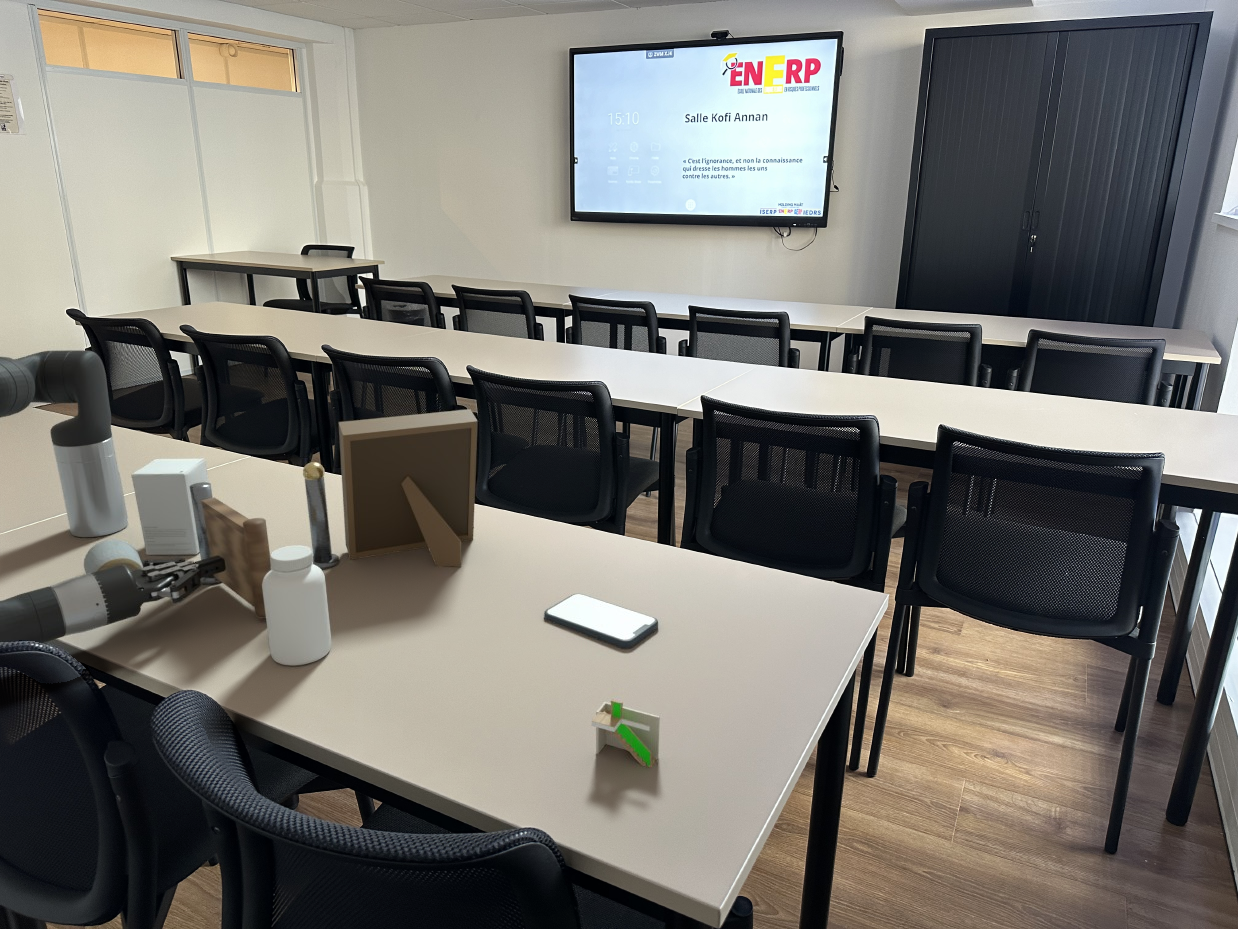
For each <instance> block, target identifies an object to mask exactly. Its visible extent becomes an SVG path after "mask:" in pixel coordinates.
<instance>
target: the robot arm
mask: <svg viewBox="0 0 1238 929" xmlns="http://www.w3.org/2000/svg"><path fill="white" fill-rule="evenodd" d="M107 381H108V380H107V374H106V370H105V366H104V363H103V360H102V359H101V357H100V356H99V355H98V354H97V353H96V352H94V351H92V350H82V349H81V350H80V349H79V350H72V349H70V350H68V349H67V350H43V351H40V352H36V353H32V354H29V355H26V356H22V357H18V358H11V357H7V356H6V357H5V356H0V418H5V417H9V416H13V415H15V414H18V413H19V414H20V413H21V412H22V411H24V410H25V409H27V408H28V407H29V406H30V405H31V403H39V404H41V403H42V404H77V414H76V415H75V416H73V417H72V418H69V419H66V420H62V421H60V422H58V423H56V424H54V425H53V426H52V427H51V429H50V431H49V432H50V438H51V442H52V447H53V451H54V456H55V462H56V467H57V471H58V476H59V482H60V485H61V487H60V488H61V490H62V491H61V492H62V496H63V500H64V505H65V510H66V516H67V522H68V526H69V530H70V533H71V535H72V536H73V537H74V536H75V537H79V538H94V537H102V536H107V535H110V534H115V533H116V532H119V531H122V530H123V529H124V528H126V527H127V526H128V525H129V522H128V521H129V520H128V518H129V517H128V513H127V512H128V510H127V507H126V500H125V495H124V490H123V483H122V478H121V474H120V470H119V465H118V459H117V453H116V449H115V444H114V439H113V432H112V413H111V406H110V398H109V392H108V391H109V390H108V382H107ZM141 563H142V565H143V568H142V569H138V570H134V571H132V572H131V571H130V569H129V568H128V567H127V566H125V565H118V566H114V567H110V568H107V569H103V570H99V571H96V572H92V573H88V574H86V573H84V574H81V575H78V576H74V577H71V578H67V579H65V580H63V581H60V582H58V583H54V584H52V585H49V586H45V587H42V588H41V587H40V588H37V589H34V590H31V591H27V592H23V593H19V594H17V595H14V596H12V597H8V598H6V599H3V600H0V642H10V641H19V640H27V641H35V642H39V643H41V644H44V643H47V642H51V641H53V640H56V639H60V638H64V637H67V636H71V635H75V634H76V635H78V634H81V633H86V632H89V631H92V630H97V629H98V628H101V627H105V626H108V625H111V624H114V623H118V622H120V621H121V622H122V621H125V620H128V619H131V618H134V617H136V616H138V615H139V614H140V613H141V610H142V608H141V607H142V606H143V604H145V603H150V602H158V601H160V600H163V599H165V598H171V603H173V604H178V603H181V602H182V601H184V600H185V598H187V597H189V595H191V594H193V593H194V592H195V591H197V589H199V588H200V587H201V586H202V584H201V578H204V577H207V576H210V575H214V574H217V573H220V572H223V571H225V569H226V566H225V560H224V559H223V558H222V557H221V556H219V555H217V556H214V557H210V558H207V559H203V560H201V559H200V560H197V561H194V560H187V561H186V558H184V557H183V558H182V557H181V558H179V557H178V558H160V559H159V558H157V559H155V558H153V559H144V560H141Z"/></svg>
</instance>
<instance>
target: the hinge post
mask: <svg viewBox="0 0 1238 929" xmlns="http://www.w3.org/2000/svg"><path fill="white" fill-rule="evenodd" d="M190 493H191V499H192V505H193V512H194V518H195V525H196V531H197V537H198V544H199V550H200V552H199V556H200V560H203V559H207V558H210V557H211V556H210V550H209V543H208V537H207V530H206V524H205V517H204V510H203V508H202V502H201V501H202V500H206V499H210V498H214V497H213V491H212V484H211V483H210V482H209V483H207V482H201V483H195V484H192V485H191V486H190ZM221 583H222V582H221V581H220V580H218V579H217V578H216V577H215V576H213V575H210V576H207V577H204V578H201V585H209V584H210V585H217V584H221Z"/></svg>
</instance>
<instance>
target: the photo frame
mask: <svg viewBox="0 0 1238 929" xmlns="http://www.w3.org/2000/svg"><path fill="white" fill-rule="evenodd" d="M478 424H479V423H478V419H477V418H476V416H475V415H474V413H473V411H472V409H470V408H469V409H458V410H451V411H439V412H430V413H428V412H427V413H419V414H418V413H417V414H409V415H397V416H389V417H377V418H368V419H360V420H359V419H357V420H346V421H338V435H339V438H338V439H339V450H340V451H339V452H340V470H341V484H342V486H341V488H342V505H343V506H342V507H343V519H344V521H343V522H344V539H345V547H346V550H347V554H348V557H349V561H350V560H351V561H352V560H356V559H357V560H359V559H363V558H369V557H375V556H380V555H387V554H394V553H399V552H406V551H412V550H417V549H424V548H428V551H429V553H430V555H431V557H432V559H433V562H434V564H435V566H439V567H440V566H441V567H443V566H444V567H456V568H457V567H458V568H461V567H462V543H463V542H466V541H472V540H474V532H475V531H474V526H475V525H474V524H475V498H476V494H475V493H476V478H477V477H476V472H477V445H478V443H477V442H478Z"/></svg>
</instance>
